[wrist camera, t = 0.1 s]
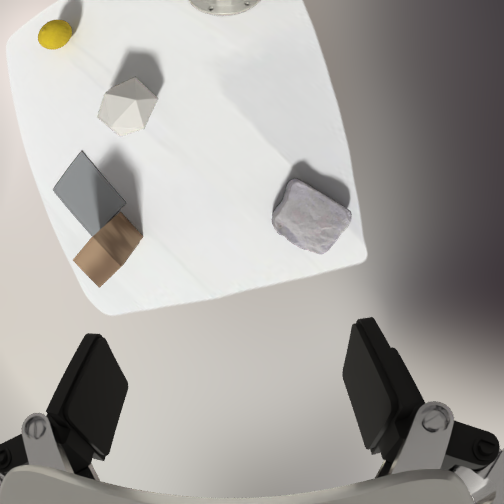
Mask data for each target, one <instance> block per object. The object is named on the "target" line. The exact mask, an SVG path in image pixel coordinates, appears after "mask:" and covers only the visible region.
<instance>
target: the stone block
mask: <svg viewBox="0 0 504 504" xmlns="http://www.w3.org/2000/svg"><path fill="white" fill-rule="evenodd" d="M351 215H352V214H351V211H350V210H348V209H347V208H346V207H344V206H343V205H341V204H339V203H338V202H336V201H334V200H333V199H331V198H330V197H328V196H326V195H325V194H323V193H321V192H320V191H318V190H316V189H314V188H313V187H311V186H309V185H308V184H306V183H304V182H303V181H301V180H299V179H292V180H290V181H289V182H288V184H287V187H286V190H285V193H284V196H283V200H282V202H281V203H280V204H279V205H278V206H277V208H276V209H275V211H274V212H273V215H272V224H273V226H274V228H275V230H276V231H277V233H278V234H279V235H283V236H285V237H286V238H287V240H289V241H290V242H291V243H293V244H294V245H296V246H298V247H299V248H302V249H305V250H309V251H311V252H315V253H318V254H324V253H325V252H327V251H328V250H329V249H330V248H331V246H332V245H333V244H334V243H335V242H336V241H337V239H338V238H339V236H340V235H341V233H343V232H344V231H345V229H346V228H347V227H348V226H349V224H350V222H351Z"/></svg>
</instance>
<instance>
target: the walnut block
mask: <svg viewBox="0 0 504 504" xmlns="http://www.w3.org/2000/svg"><path fill="white" fill-rule="evenodd" d="M142 238H143V236H142V235H141V233H140V232H139V231H138V230H137V229H136V228H135V227H134V226H133V225H132V224H131V223H130V222H129V220H128V219H127V218H126V217H125V216H124V215H123V214H122V213H121V212H120V213H119V214H117V215H116V216H115V217H114V218H113V219H112V220H110V221H109V222H108V223H107V224H106V225H105V226H104V227H103V228H101V229H100V230H99V231H98V232H97V233H96V234H95V235H94V236H93V237H92V238H91V239H90V240H89V241H88V242H87V244H86V245H85V246H84V247H83V248H82V250H81V251H80V252H79V253H78V254H77V256H76V257H75V258H74V259H73V261H74V262H75V263H76V264H77V265H78V266H79V267H80V268H81V269H82V270H83V272H84V273H85V274H86V275H87V276H88V277H89V278H90V279H91V280H92V281H93V282H94V283H95V284H96V285H97V286H98V287H99V288H100V287H101V286H102V285H103V284H104V283H105V282H106V281H107V280H108V279H109V278H110V277H111V276H112V275H113V274H114V273H115V272H116V271H117V270H118V269H119V268H120V267H121V266H123V264H124V263H125V262H126V260H127V259H128V257H129V256H130V255H131V253H132V252H133V251H134V249H135V248H136V247H137V245H138V244H139V242H140V240H141V239H142Z"/></svg>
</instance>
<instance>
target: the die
mask: <svg viewBox="0 0 504 504" xmlns="http://www.w3.org/2000/svg"><path fill="white" fill-rule="evenodd" d="M157 100H158V98H157V97H156V96H155V95H154V94H153V93H152V92H151V91H150V90H149V89H148V88H147V87H146V86H144V85H143V84H142V83H141V82H140V81H139V80H138V79H137V78H136V77H134V78H132V79H129V80H127V81H125V82H123V83H121V84H119V85H117V86H115V87H113V88H111V89H110V90H109V91H107V92H106V93H105V94H104V97H103V100H102V103H101V106H100V109H99V113H98V116H97V118H99V119H100V120H101V121H102V122H103V123H104V124H106V125H107V126H108V127H109V128H110V129H111V130H113V131H114V132H115V133H116V134H117V135H118V136H120V137H122V136H125V135H128V134H130V133H133V132H136V131H139V130H142V129H145V126H146V124H147V122H148V120H149V117H150V115H151V113H152V111H153V109H154V107H155V105H156V102H157Z"/></svg>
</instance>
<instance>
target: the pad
mask: <svg viewBox="0 0 504 504" xmlns="http://www.w3.org/2000/svg"><path fill="white" fill-rule="evenodd" d="M53 191H54V192H55V193H56V195H57V196H58V197H59V198H60V200H61V201H62V202H63V203H64V204H65V206H66V207H67V208H68V209H69V210H70V212H71V213H72V214H73V215H74V216H75V218H76V219H77V220H78V221H79V222H80V223H81V224H82V226H83V227H84V228H85V229H86V230H87V231H88V232H89V233H90V235H91V236H92V237H93V236H94V235H95V234H96V233H97V232H98V231H99V230H100V229H101V228H103V227H104V226H105V225H106V224H107V222H108V221H109V220H110V219H111V218H112V217H113V216H114V215H115V214H116V213H117V212H118V211H119V210H120V209H121V208H122V207H123V206H124V205H125V203H126V202H125V201H124V200H123V199H122V197H121V196H120V195H119V194H118V193H117V192H116V191H115V190H114V188H113V187H112V186H111V185H110V184H109V183H108V181H107V180H106V179H105V178H104V177H103V176H102V174H101V173H100V172H99V171H98V170H97V169H96V167H95V166H94V165H93V164H92V163H91V161H90V160H89V159H88V158H87V157H86V155H85V154H84V153H83V152H82V151H81V153H80V154H79V155H78V156H77V158H76V159H75V160H74V162H73V163H72V164H71V165H70V167H69V168H68V169H67V171H66V172H65V173H64V175H63V176H62V178H61V179H60V180H59V182H58V183H57V185H56V186H55V188H54V189H53Z"/></svg>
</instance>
